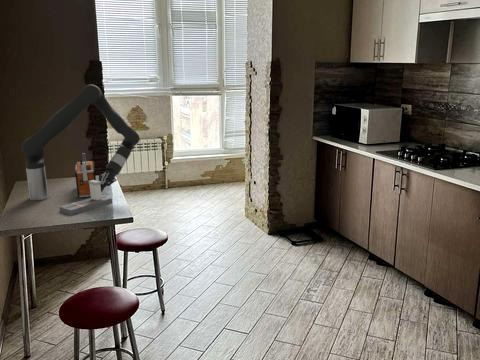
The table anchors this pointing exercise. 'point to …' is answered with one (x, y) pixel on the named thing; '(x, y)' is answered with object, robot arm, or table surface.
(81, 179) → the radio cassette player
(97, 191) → the fader tab
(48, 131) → the robot arm
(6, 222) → the table surface
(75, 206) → the fader console
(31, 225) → the table surface
